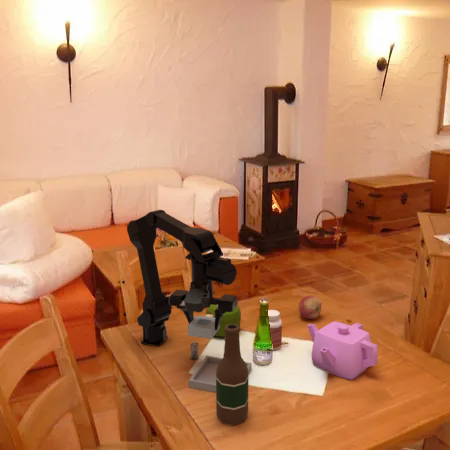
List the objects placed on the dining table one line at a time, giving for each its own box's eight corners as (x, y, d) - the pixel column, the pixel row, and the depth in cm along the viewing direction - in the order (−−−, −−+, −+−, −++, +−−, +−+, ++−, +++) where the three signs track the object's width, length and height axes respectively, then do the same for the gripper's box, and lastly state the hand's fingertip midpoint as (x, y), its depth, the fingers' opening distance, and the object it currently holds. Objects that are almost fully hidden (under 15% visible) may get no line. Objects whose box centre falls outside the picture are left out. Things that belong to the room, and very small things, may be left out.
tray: (188, 387, 137) (188, 380, 137) (206, 362, 150) (206, 355, 149) (237, 396, 133) (237, 389, 133) (251, 369, 146) (251, 363, 145)
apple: (246, 329, 169) (246, 299, 167) (229, 343, 161) (229, 311, 158) (217, 322, 175) (217, 292, 172) (200, 335, 166) (199, 303, 163)
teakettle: (379, 380, 140) (383, 339, 137) (318, 382, 140) (320, 341, 136) (360, 349, 157) (363, 312, 153) (305, 351, 156) (306, 313, 153)
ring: (211, 338, 141) (211, 328, 140) (188, 335, 143) (187, 325, 143) (221, 325, 149) (221, 315, 149) (199, 322, 151) (198, 313, 151)
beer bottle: (215, 407, 129) (214, 319, 122) (246, 405, 129) (246, 318, 123) (217, 427, 121) (216, 335, 115) (250, 425, 122) (250, 333, 116)
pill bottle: (285, 347, 158) (286, 314, 155) (269, 352, 155) (270, 319, 152) (273, 339, 163) (273, 306, 160) (257, 344, 160) (257, 311, 157)
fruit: (305, 324, 173) (306, 302, 171) (294, 315, 180) (294, 294, 178) (325, 320, 175) (326, 299, 173) (313, 311, 182) (314, 290, 180)
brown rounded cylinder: (189, 359, 152) (189, 345, 150) (192, 355, 154) (192, 341, 152) (196, 360, 151) (196, 346, 150) (199, 356, 153) (199, 342, 152)
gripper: (158, 283, 137) (161, 337, 141) (225, 290, 131) (226, 345, 135) (175, 270, 147) (177, 320, 151) (237, 275, 141) (238, 327, 145)
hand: (204, 328), depth 145 cm, fingers closed on ring, 7 cm apart
